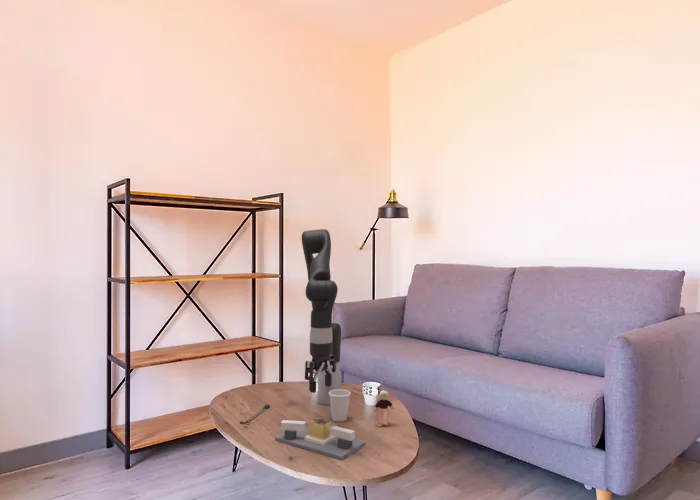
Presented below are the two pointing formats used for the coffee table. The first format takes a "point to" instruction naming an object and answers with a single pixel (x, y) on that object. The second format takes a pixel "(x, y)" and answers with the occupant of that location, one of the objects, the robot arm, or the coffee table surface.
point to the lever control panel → (334, 446)
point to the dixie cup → (339, 404)
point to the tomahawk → (255, 415)
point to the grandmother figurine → (383, 409)
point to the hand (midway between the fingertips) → (320, 389)
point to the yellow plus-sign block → (319, 428)
